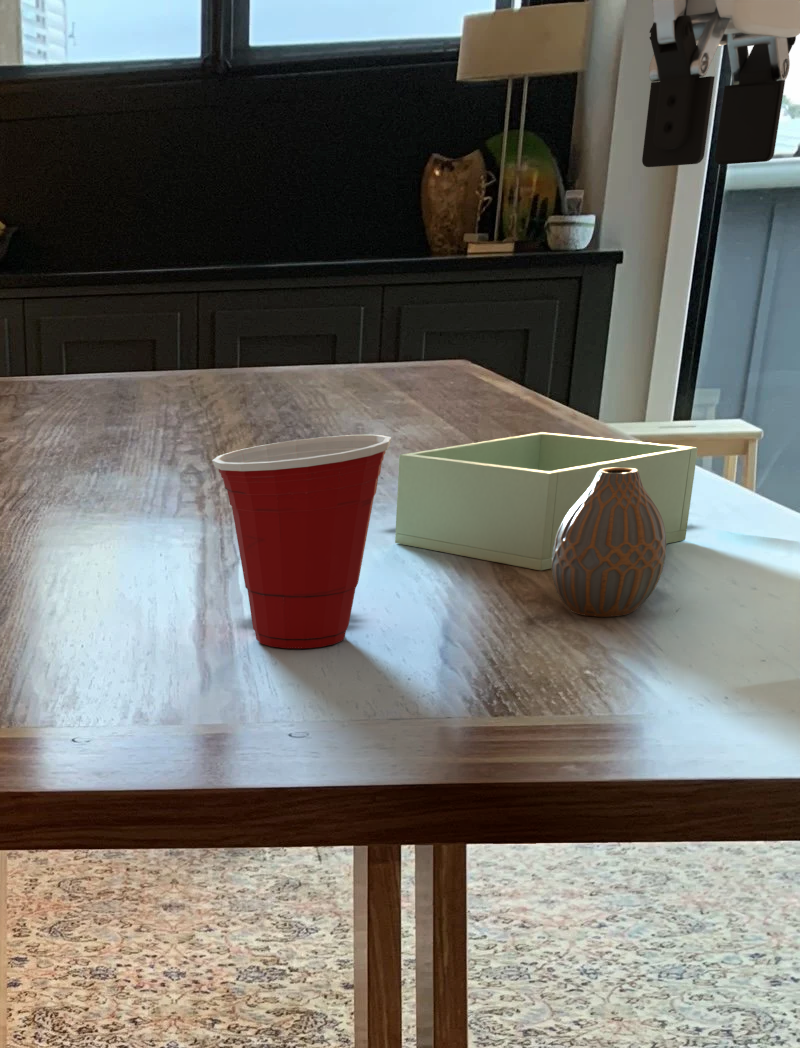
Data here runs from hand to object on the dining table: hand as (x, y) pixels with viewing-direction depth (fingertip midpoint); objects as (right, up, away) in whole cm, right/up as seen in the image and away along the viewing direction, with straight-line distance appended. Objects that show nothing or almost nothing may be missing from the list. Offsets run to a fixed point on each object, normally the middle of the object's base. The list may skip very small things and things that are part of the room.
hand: (708, 164), depth 86 cm
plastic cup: (-21, -24, +13) cm, 34 cm away
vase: (-1, -21, +14) cm, 26 cm away
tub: (+2, -10, +35) cm, 37 cm away
